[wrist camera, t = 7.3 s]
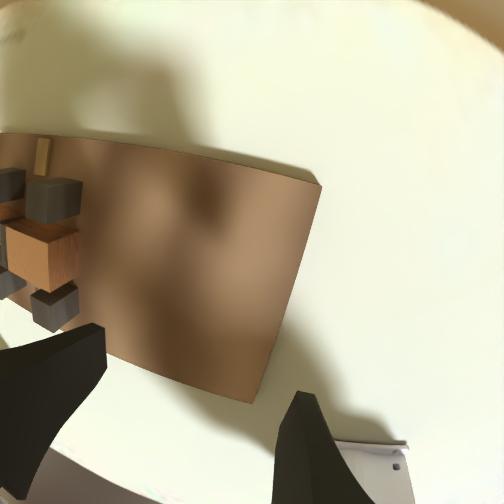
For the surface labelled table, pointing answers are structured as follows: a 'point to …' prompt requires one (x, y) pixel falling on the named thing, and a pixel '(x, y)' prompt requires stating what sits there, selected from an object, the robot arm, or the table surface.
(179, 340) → the brown flat board
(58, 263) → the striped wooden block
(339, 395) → the table surface
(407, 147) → the table surface
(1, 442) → the robot arm
